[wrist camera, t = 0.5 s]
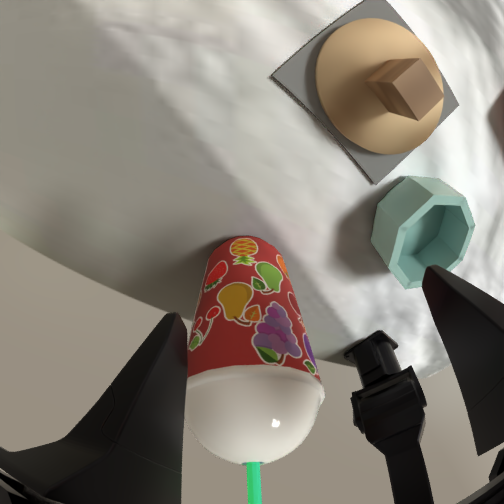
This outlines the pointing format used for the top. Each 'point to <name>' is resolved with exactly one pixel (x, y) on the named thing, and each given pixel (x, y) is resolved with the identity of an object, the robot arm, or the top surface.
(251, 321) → the smoothie
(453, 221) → the bowl
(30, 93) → the top surface
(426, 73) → the lid
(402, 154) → the mat
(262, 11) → the top surface
